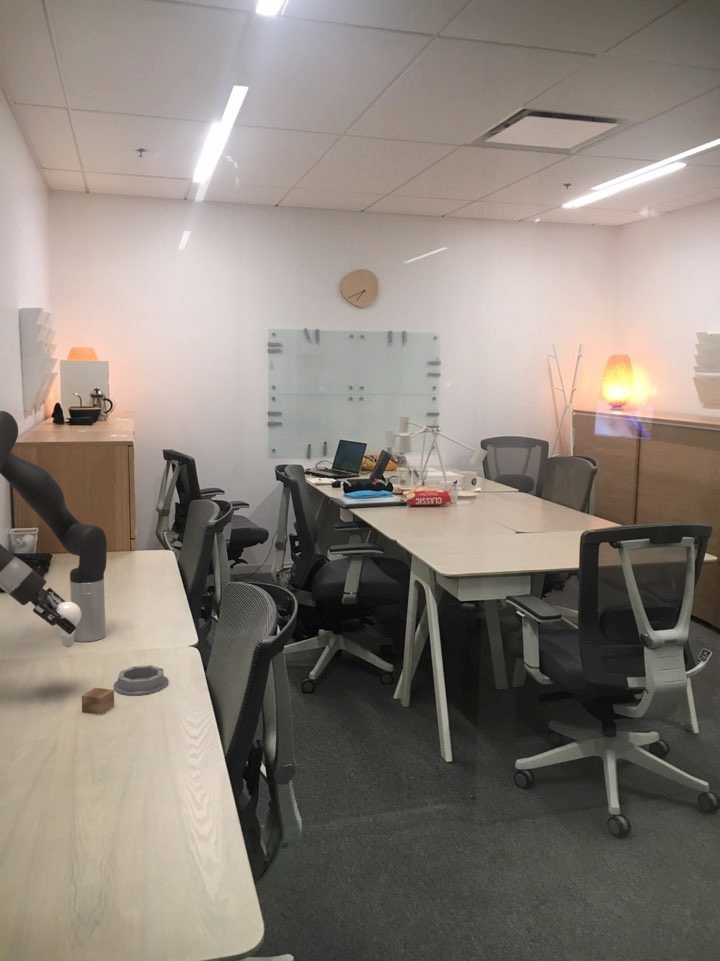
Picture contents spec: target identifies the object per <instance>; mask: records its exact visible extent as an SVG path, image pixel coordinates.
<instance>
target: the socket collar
mask: <svg viewBox="0 0 720 961" xmlns="http://www.w3.org/2000/svg"><path fill="white" fill-rule="evenodd" d="M164 675H165V674H164V668H162V667H158V666H155V665H152V664H151V665H137V666H135V665H134V666H131V667H128V668H126V669H124V670H121V671H119V673H118V677H117V680H116V681H115V682H114V684H113V690H114V692H116V693H118V694H120V695H122V696H133V697H135V696H138V697H140V696H147V695H152V694H155V692H156V693H158V692H157V691H159V692H161V691H163V690H164V689H163V688H165V687H166V686H167V685H168V686H169V684H168V683H170V681H169V678H168V677H167V676H164ZM168 686H167V687H168ZM167 687H166V688H167ZM166 688H165V689H166ZM162 689H163V690H162ZM160 690H161V691H160ZM151 693H152V694H151Z"/></svg>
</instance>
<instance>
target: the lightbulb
mask: <svg viewBox="0 0 720 961" xmlns="http://www.w3.org/2000/svg"><path fill="white" fill-rule="evenodd" d="M58 607H59V612H60V613H61V614H62V615H63V616H64V617H65V618H66V619H68V620H69V621H70V622H71V623H72V624H74V625H75V626H77V624H78V623H79V621H80V619H81V610H80V608H79V606H78V605H77V604H75V603H73V602H71V601H66V602H62V603H60V604H59V605H58ZM53 618H54V616H53ZM56 626H57V627H58V629H59V633H60V635H61V641H62V643H61V644H62V646H63V647H66V648H71V647H72V646H73V645H75V640H74V633H75V630H74V631H73V632H72V633H71V634H68V633H67V632H66V631H64V630H63V629H62V628H61V627H59V626H58V624H57V625H56Z"/></svg>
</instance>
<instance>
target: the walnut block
mask: <svg viewBox="0 0 720 961" xmlns="http://www.w3.org/2000/svg"><path fill="white" fill-rule="evenodd" d="M113 706H114V707H115V690H114V689H109V688H101V687H94V688H92V689H90V690H88V691H87V692H85V693H84V694H82V695H81V713H84V714H91V713H92V714H93V715H98V714H101V715H100V716H102V715H103V713H104V714H105V713H107V712H108V711H110V710H111V709H112V708H114V707H113ZM111 707H112V708H111ZM110 708H111V709H110ZM107 710H108V711H107ZM106 711H107V712H106ZM92 714H91V715H92Z"/></svg>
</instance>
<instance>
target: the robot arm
mask: <svg viewBox="0 0 720 961" xmlns="http://www.w3.org/2000/svg"><path fill="white" fill-rule="evenodd" d="M18 437H19V426H18V422H17V420H16V419H15V417H14V416H13V415H12V414H10V413H9V412H8V411H5V410H0V475H2V476H3V478H4V479H5V480H6V481H7V482H8V483H9V485H11V487H13V488H14V490H15V491H16V492H17V493H18V495H19V496H20V497H21V498H22V499H23V500H24V501H25V502H26V504H28V505H29V507H30V508H31V509H32V510H33V511H34V512H35V513H36V514H37V515H38V516H39V518H40V519H41V520H42V522H44V524H46V525H47V526H48V527H49V528H50V530H51V531H52V532H53V534H54V536H55V537H56V538H57V539H58V541H59V542H60V544H61V545H62V547H63V548H64V549H65V550H66V551H67V552H68V553H69V554H71V555H73V556H74V555H75V556H78V559H79V560H78V566H77V567H76V568H73V569H71V570H70V572H69V584H70V585H69V586H70V587H69V588H70V589H69V590H70V602H73V603H75V604H77V605H78V606H79V608H80V610H81V619H80V621H79V623H78V624H77V626H75V625H74V624H72V623H71V622H70V621H69V620H68V619H66V618H65V617H64V616H63V615H62V614H61V613H60V612H59V607H58V605H59V604H60V603H62V602H67V601H66V600H65V599H63V597H61V596H60V595H59V594H58V592H57V593H56V591H54V590H53V589H52V588H51V587H48V588H47V589H44V587H45V586H46V585H47V580H46V579H45V578H44V577H42V576H41V575H40V574H39V573H37V571H35V570H34V569H33V568H31V567H30V566H29V565H28V564H27V563H26V562H25V561H23V560H21V559H20V558H18V557H17V556H15V555H14V554H13V553H12V552H11V551H9V550H8V549H7V548H5V546H4V545H2V544H1V543H0V589H1V590H3V591H4V592H5V593H6V594H8V595H9V596H10V597H12V598H13V599H14V600H15V601H16V602H17V603H18V604H20V605H21V606H26V605H27V604H28V603H29V602H30V603H31V604H32V605H33V606H34V608H32V612H33V613H34V614H36V615H37V616H39V617H40V618H41V619H43V620H44V621H45V622H46V623H48V624H49V625H50V626H52V627H54V626H57V624H58V626H59V627H61V628H62V629H63V630H64V631H66V632H67V633H68V634H71V633H72V632H73V631H74V630H75V633H74V642H81V643H84V642H85V643H86V642H95V641H99V640H102V639H103V638H105V637H106V633H107V632H106V605H105V602H106V600H105V598H106V597H105V576H104V574H105V571H106V568H107V556H108V555H107V552H108V551H107V548H108V544H107V535H106V533H105V531H104V530H103V528H102V527H100V526H97V525H92V524H88V523H87V524H85V523H82V522H81V521H79V520H78V519H77V518H76V517H75V516H74V515H73V514H72V512H71V511H69V509H68V508H67V507H68V506H67V505H66V501H65V496H64V493H63V492H64V491H63V490H62V488H61V486H60V485H59V483H57V482H56V480H55V479H54V478H53V477H52V476H51V474H50V473H49V472H48V471H47V470H45V469H44V468H43V467H41V466H39V465H37V464H35V463H32V462H30V461H28V460H25V459H23V458H21V457H19V456H17V455H16V454H14V453H12V452H11V451H12V450H13V448H14V447H15V444H16V442H17V440H18ZM53 616H54V618H53ZM58 626H57V627H58Z"/></svg>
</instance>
